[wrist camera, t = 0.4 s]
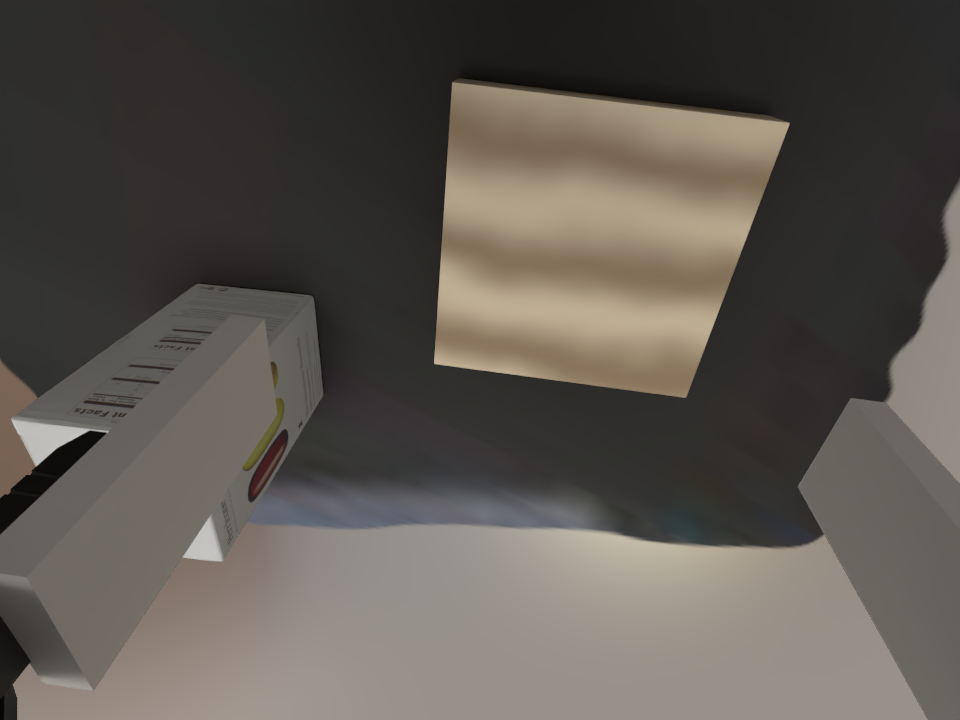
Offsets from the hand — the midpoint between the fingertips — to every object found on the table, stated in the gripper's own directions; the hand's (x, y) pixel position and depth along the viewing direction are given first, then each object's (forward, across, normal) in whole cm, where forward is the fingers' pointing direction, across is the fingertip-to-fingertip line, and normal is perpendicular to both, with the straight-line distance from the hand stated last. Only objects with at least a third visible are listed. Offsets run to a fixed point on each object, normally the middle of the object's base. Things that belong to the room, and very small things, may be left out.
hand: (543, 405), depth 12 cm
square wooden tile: (+25, +4, -5) cm, 25 cm away
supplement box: (+25, -19, -16) cm, 35 cm away
